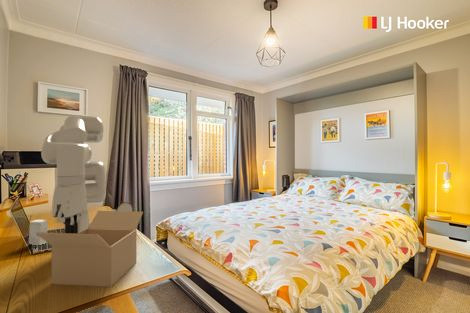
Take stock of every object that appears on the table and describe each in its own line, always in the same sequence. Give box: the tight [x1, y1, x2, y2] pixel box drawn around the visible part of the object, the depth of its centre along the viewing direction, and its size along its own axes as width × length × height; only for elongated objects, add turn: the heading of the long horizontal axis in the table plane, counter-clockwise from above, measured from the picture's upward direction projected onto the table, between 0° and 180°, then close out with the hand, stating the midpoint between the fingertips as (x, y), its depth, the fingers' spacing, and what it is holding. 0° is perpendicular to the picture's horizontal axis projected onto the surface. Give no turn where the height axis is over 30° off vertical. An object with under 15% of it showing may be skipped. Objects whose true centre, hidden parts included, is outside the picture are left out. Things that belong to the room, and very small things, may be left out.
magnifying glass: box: [115, 201, 134, 211], centre depth 125 cm, size 9×2×20 cm, turn 135°
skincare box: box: [28, 219, 48, 246], centre depth 117 cm, size 6×4×12 cm
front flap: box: [36, 232, 110, 248], centre depth 78 cm, size 21×9×1 cm
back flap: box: [88, 210, 144, 231], centre depth 103 cm, size 21×9×1 cm
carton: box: [51, 228, 137, 288], centre depth 91 cm, size 22×18×14 cm
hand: (71, 235), depth 77 cm, fingers closed
